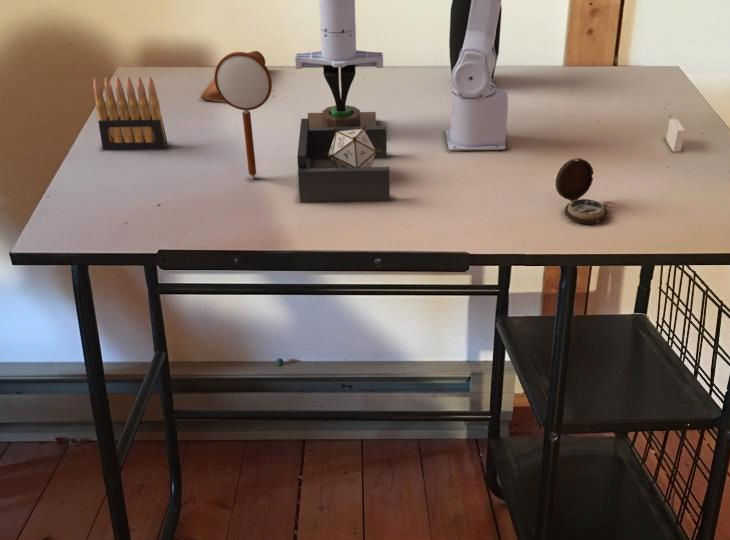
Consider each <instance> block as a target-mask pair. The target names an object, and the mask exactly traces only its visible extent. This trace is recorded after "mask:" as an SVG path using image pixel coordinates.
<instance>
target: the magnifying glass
mask: <svg viewBox="0 0 730 540" xmlns="http://www.w3.org/2000/svg"><path fill="white" fill-rule="evenodd" d="M213 78H214V79H215V85H216V89H217V91H218V93H219V94H220V96H221V97H222V99H223V100H224V101H225V102H227V103H226V104H228V105H229V106H231V107H232V108H235V109H237V110H241V111H242V112H241V114H242V123H243V132H244V141H245V142H244V143H245V153H246V161H247V170H248V175H249V176H250V179H251V180H255V179H256V174H257V167H256V166H257V165H256V157H255V146H254V137H253V127H252V126H253V125H252V117H251V111H252V110H253V111H254V110H256V109H258V108H260V107H262V106H263V105H264V104H265V103H267V101H268V99H269V98H270V97H271V93H272V88H273V82H272V81H273V80H272V75H271V72H270V71H269V69H268V67H267V66H266V63H265V64H264V63H263V62H262V61H261V60H260V59H258V58H257V57H255V56H254V55H252V54H249V52H244V51H236V52H231V53H229V54H226V55H225V56H224V57H222V58H221V59H220V61H218V63H217V65H216V68H215V71H214V77H213Z"/></svg>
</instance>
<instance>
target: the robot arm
mask: <svg viewBox="0 0 730 540" xmlns="http://www.w3.org/2000/svg"><path fill="white" fill-rule="evenodd" d="M502 1H503V0H472V2H471V8H470V14H469V20H468V25H467V31H466V36H465V40H464V44H463V48H462V49H461V51H460V54H459V58H458V61H457V64H456V65H455V67H454V69H453V71H452V75H451V83H452V84H451V91H450V92H451V93H450V94H451V95H450V117H449V119H450V120H449V128H447V129H445V136H446V142H447V146H448V150H449V151H503V150H506V137H507V128H508V127H507V125H508V111H509V97H508V91H507V89H505V88H497V87H496V84H495V83H494V81H492V79H491V76H492V73H493V70H494V68H495V69H496V67H497V63H496V61H497V62H498V58H497V57H496V53H495V49H494V41H495V35H496V27H497V22H498V17H499V11H500V6H501V7H502ZM318 3H319V4H318V5H319V24H320V27H319V28H320V46H321V48H320V49H321V50H318V51H310V52H300V53H295V55H294V64H295V65H294V67H295V70H302V69H303V68H305V69H306V68H323V69H322V70H323V77H324V79H325V81H326V83H327V84H328V85H327V86H328V87H329V88H330V91H331V93H332V96H333V99H334V102H335V103H334V104H335V106H336V108H337V111H345V105H347V104H346V103H347V99H348V94H349V91H350V88H351V86H352V84H353V82H354V79H355V76H356V68H358V67H359V68H363V67H364V68H368V67H371V68H373V67H376V68H377V69H383V68H384V53H383V52H382V51H381V52H379V51H378V52H377V51H366V50H357V27H356V26H357V25H356V0H318ZM495 66H496V67H495Z"/></svg>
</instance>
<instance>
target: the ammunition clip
mask: <svg viewBox="0 0 730 540" xmlns="http://www.w3.org/2000/svg"><path fill="white" fill-rule="evenodd" d="M125 83H126V85H125V86H126V94H127V95H126V94H125V90H124V87H123V83H122V81H121V79H120V78H119V76H116V78H115V93H116V99H117V100H116V99H115V94H114V91H113V87H112V83H111V82H110V80H109V78H108V77H107V76H106V77H104V92H105V93H104V94H105V97H104V94H103V91H102V87H101V84H100V82H99V80H98V78H97V77H96V76H94V78H93V94H94V102H95V110H96V114H97V119H98V121H97V122H98V129H99V134H100V135H99V136H100V142H101V149H102V150H103V151H121V150H122V151H130V150H132V151H133V150H140V151H141V150H166V149H167V148H168V139H167V135H166V129H165V126H164V121H163V116H162V112H161V105H160V101H159V98H158V94H157V89H156V86H155V82H154V80H153V78H152V77H151V76H148V79H147V91H148V96H147V93H146V88H145V85H144V82H143V80H142V78H141V76H138V77H137V81H136V89H137V90H136V91H137V95H136V91H135V87H134V84H133V82H132V79H131V78H130V77H129V76H127V77H126V82H125ZM126 96H127V98H126ZM137 97H138V99H137ZM147 97H148V98H147ZM104 98H105V99H104Z"/></svg>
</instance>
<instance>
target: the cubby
mask: <svg viewBox="0 0 730 540" xmlns="http://www.w3.org/2000/svg"><path fill="white" fill-rule="evenodd" d="M335 128H336V129H337V131H342V130H352V129H362V128H363V127H335ZM365 131H366V133H367V135H368V137H369V138H370V140H371V142H372V144H373V145H374V147H375V149H376V150H381V152H380V153H376V155H375V158H374V159H386V158H387V155H388V152H387V151H388V147H387V144H388V143H387V142H388V141H387V140H388V139H387V138H388V137H387V136H388V135H387V133H388V132H387V126H386V125H383V126H380V125H379V126H376V127H366V128H365ZM334 135H335V131H334V130H333V127H319V128H309V119H307V118H301V119H300V127H299V137H298V145H297V146H298V147H297V179H298V193H299V203H329V202H330V203H332V202H383V201H384V202H385V201H391V199H390V197H391V194H390V193H391V192H390V191H391V190H390V188H391V187H390V185H391V184H390V183H391V181H390V179H391V178H390V175H391V172H390V171H391V170H390V166H371V167H355V168H335V167H311V165H312V160H322V159H323V160H330V158H329V157H328V156H326V157H325V156H324V154H325V153H328V152H329V149H330V147H331V144H332V141H333V138H334Z"/></svg>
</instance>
